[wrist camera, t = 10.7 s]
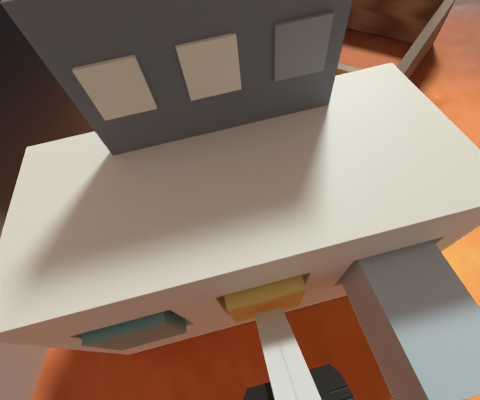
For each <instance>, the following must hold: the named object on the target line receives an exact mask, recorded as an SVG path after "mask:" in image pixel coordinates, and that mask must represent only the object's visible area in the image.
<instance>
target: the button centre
mask: <svg viewBox="0 0 480 400" xmlns="http://www.w3.org/2000/svg"><path fill="white" fill-rule="evenodd" d="M306 290H307V288H306V286H305V283H304V280H303V277H302V275H299V276H295V277H291V278H288V279H284V280H280V281H276V282H273V283H269V284H265V285H261V286H258V287H254V288H250V289H246V290H243V291H239V292H235V293H231V294H228V295H224V299H225V304H226V309H227V312H228V313H229V314H230V316H231V317H232V318H233V320H234V321H235V322H236V323H237V322H240V321H244V320H248V319H251V318H255V316H254V314H256V313H260V312H264V311H267V310H271V309H275V308H278V307H282V308H283V310H285V309H288V308H292V307H296V306H299V305H300V303H301V300H302V298H303V296H304V294H305V292H306Z"/></svg>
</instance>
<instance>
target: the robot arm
mask: <svg viewBox="0 0 480 400" xmlns="http://www.w3.org/2000/svg"><path fill="white" fill-rule="evenodd" d="M254 316H255V320H256V324H257V329H258V333H259V337H260V341H261V345H262V349H263V353H264V357H265V362H266V366H267V370H268V374H269V378H270V382H269V383H265V384H262V385H259V386H255V387H252V388H248V389H247V391H246V394H245V398H244V400H355V399H354V397H353V395H352V393H351V391H350V390H349V388H348V386H347V384H346V382H345V381H344V379H343V377H342V375H341V374H340V373H339V372H338V371H337V370H336V369H335V368H334V367H332V366H331V365H330V364H328V365H325V366H321V367H318V368H314V369H311V370H309V369H308V367H307V364H306V362H305V360H304V357H303V355H302V353H301V350H300V348H299V346H298V343H297V341H296V339H295V336H294V334H293V332H292V329H291V327H290V325H289V322H288V320H287V318H286V315H285V313H284V311H283V308H282V307H278V308H275V309H271V310H267V311H264V312H260V313H256V314H254Z"/></svg>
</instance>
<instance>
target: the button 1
mask: <svg viewBox="0 0 480 400" xmlns="http://www.w3.org/2000/svg"><path fill="white" fill-rule="evenodd" d="M184 333H187V329H186V320H185V318H183V317H181V316H179V315H178V314H176V313H174V312H173V311H171V310H168V311H164V312H160V313H156V314H153V315H149V316H145V317H141V318H138V319H134V320H130V321H126V322H123V323H119V324H115V325H111V326H107V327H104V328H100V329H96V330H92V331H89V332H85V333H82V345H81V346H88V347H96V348H104V349H113V350H125V349H129V348H132V347H136V346H140V345H143V344H147V343H151V342H155V341H158V340H162V339H166V338H169V337H173V336H177V335H180V334H184Z"/></svg>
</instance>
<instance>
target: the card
mask: <svg viewBox="0 0 480 400" xmlns="http://www.w3.org/2000/svg"><path fill="white" fill-rule="evenodd" d="M1 4H2V6H3V7H4V9H5V10H6V11H7V12H8V14H9V15H10V17H11V18H12V19H13V21H14V22H15V23H16V25H17V26H18V27H19V29H20V30H21V32H22V33H23V34H24V36H25V37H26V38H27V40H28V41H29V42H30V44H31V45H32V47H33V48H34V49H35V51H36V52H37V53H38V55H39V56H40V57H41V59H42V60H43V61H44V63H45V64H46V66H47V67H48V68H49V70H50V71H51V72H52V74H53V75H54V76H55V78H56V79H57V81H58V82H59V83H60V85H61V86H62V87H63V89H64V90H65V91H66V93H67V94H68V96H69V97H70V98H71V99H72V101H73V102H74V104H75V105H76V106H77V108H78V109H79V110H80V112H81V113H82V115H83V116H84V117H85V119H86V120H87V121H88V123H89V124H90V125H91V127H92V128H93V129H94V131H95V132H96V134H97V135H98V136H99V138H100V139H101V140H102V142H103V143H104V144H105V146H106V147H107V148H108V150H109V151H110V153H111V154H112V155H113V156H114V155H118V154H122V153H127V152H131V151H135V150H139V149H143V148H148V147H152V146H156V145H160V144H165V143H169V142H173V141H177V140H182V139H186V138H190V137H194V136H198V135H203V134H207V133H211V132H215V131H220V130H224V129H228V128H232V127H236V126H241V125H245V124H249V123H253V122H258V121H262V120H266V119H270V118H275V117H279V116H283V115H287V114H291V113H296V112H300V111H304V110H308V109H313V108H317V107H321V106H325V105H329V102H330V98H331V93H332V89H333V84H334V80H335V75H336V71H337V67H338V62H339V58H340V53H341V49H342V45H343V40H344V36H345V31H346V27H347V22H348V18H349V14H350V9H351V5H352V0H2V1H1Z"/></svg>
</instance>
